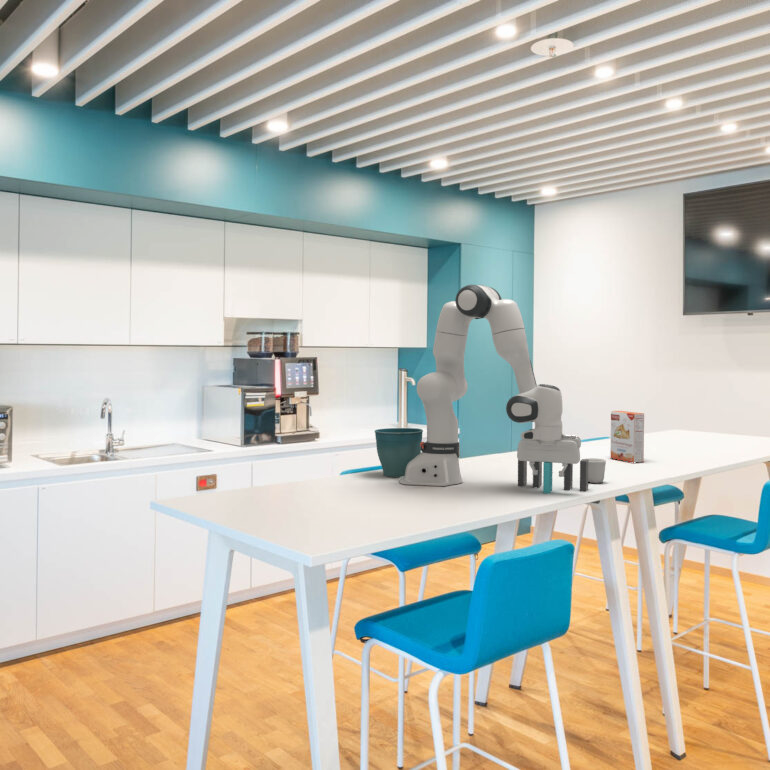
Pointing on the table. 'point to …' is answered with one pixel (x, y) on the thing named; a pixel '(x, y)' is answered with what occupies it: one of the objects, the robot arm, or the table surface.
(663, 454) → the table surface
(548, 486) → the domino teal
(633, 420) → the cracker box
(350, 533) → the table surface
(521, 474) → the domino
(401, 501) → the table surface
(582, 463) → the domino
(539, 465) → the domino
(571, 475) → the domino
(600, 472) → the cup
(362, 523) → the table surface
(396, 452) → the flower pot
